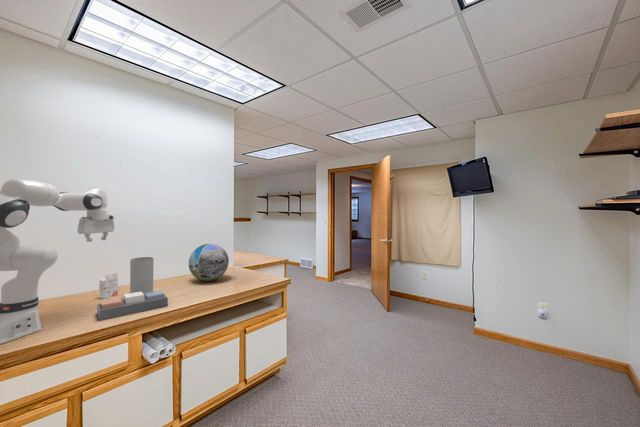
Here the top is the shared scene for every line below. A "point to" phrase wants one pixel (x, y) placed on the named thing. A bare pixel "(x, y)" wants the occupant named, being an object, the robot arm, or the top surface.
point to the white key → (133, 298)
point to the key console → (131, 308)
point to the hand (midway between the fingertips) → (96, 240)
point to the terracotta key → (111, 303)
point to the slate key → (154, 295)
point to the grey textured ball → (208, 262)
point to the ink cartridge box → (108, 286)
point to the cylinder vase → (141, 275)
